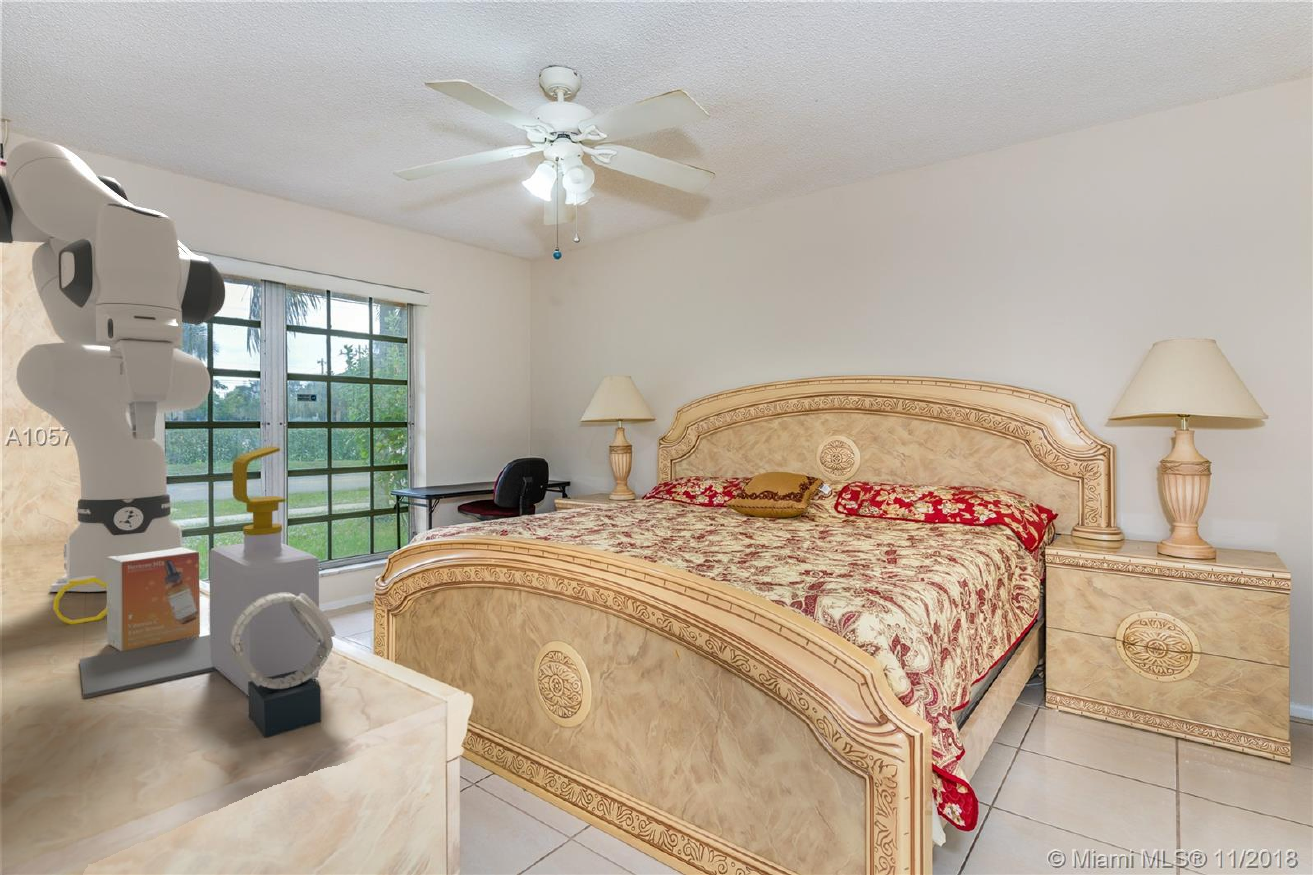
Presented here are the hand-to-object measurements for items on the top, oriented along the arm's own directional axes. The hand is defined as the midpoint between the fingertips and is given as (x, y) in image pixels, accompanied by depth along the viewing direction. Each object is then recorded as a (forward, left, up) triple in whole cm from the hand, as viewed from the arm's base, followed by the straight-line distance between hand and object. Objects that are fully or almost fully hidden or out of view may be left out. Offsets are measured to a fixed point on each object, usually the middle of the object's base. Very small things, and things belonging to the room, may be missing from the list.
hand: (143, 439), depth 86 cm
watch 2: (+44, +6, -24) cm, 50 cm away
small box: (+9, 0, -24) cm, 26 cm away
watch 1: (-7, -6, -24) cm, 26 cm away
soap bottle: (+31, +7, -24) cm, 40 cm away
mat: (+19, 0, -24) cm, 31 cm away
